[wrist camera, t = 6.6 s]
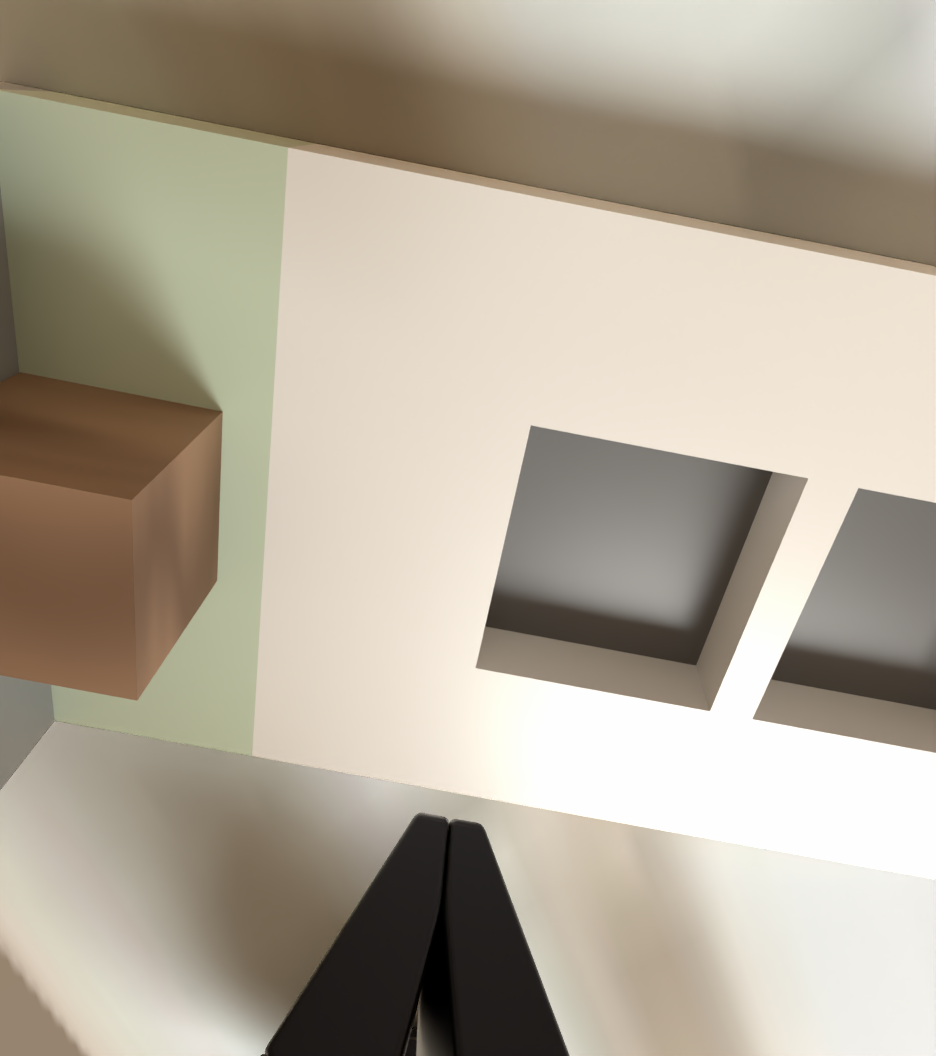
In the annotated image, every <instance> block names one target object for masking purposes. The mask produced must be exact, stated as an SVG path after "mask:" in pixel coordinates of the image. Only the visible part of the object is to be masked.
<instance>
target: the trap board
mask: <svg viewBox="0 0 936 1056" xmlns="http://www.w3.org/2000/svg"><path fill="white" fill-rule="evenodd" d="M20 372H22V373H27V374H32V375H37V376H43V377H48V378H53V379H58V380H63V381H68V382H73V383H78V384H84V385H89V386H94V387H99V388H104V389H109V390H114V391H120V392H125V393H130V394H135V395H140V396H145V397H150V398H155V399H161V400H166V401H171V402H176V403H181V404H186V405H191V406H197V407H202V408H207V409H212V410H217V411H222V412H223V418H222V449H221V480H220V510H219V541H218V572H217V582H216V583H215V585H214V586H213V588H212V589H211V591H210V592H209V594H208V595H207V597H206V598H205V600H204V601H203V603H202V604H201V606H200V607H199V609H198V610H197V612H196V613H195V615H194V616H193V618H192V619H191V621H190V622H189V624H188V625H187V627H186V628H185V630H184V631H183V633H182V634H181V636H180V637H179V639H178V640H177V642H176V643H175V645H174V646H173V648H172V649H171V651H170V652H169V654H168V655H167V657H166V658H165V660H164V661H163V663H162V664H161V666H160V667H159V669H158V670H157V672H156V673H155V675H154V676H153V678H152V679H151V681H150V682H149V684H148V685H147V687H146V688H145V690H144V691H143V693H142V694H141V696H140V697H139V699H138V700H137V701H136V700H131V699H125V698H120V697H115V696H109V695H104V694H98V693H93V692H88V691H82V690H77V689H71V688H66V687H61V686H55V685H50V684H44V683H39V682H34V681H28V680H23V679H17V678H12V677H7V676H1V675H0V790H1V789H2V787H3V786H4V785H5V784H6V782H7V781H8V780H9V778H10V777H11V776H12V775H13V773H14V772H15V771H16V769H17V768H18V767H19V766H20V764H21V763H22V762H23V760H24V759H25V758H26V757H27V755H28V754H29V753H30V752H31V750H32V749H33V748H34V746H35V745H36V744H37V743H38V741H39V740H40V739H41V737H42V736H43V735H44V734H45V732H46V731H47V730H48V728H49V727H50V726H51V725H52V723H53V722H54V721H59V722H65V723H70V724H76V725H81V726H87V727H92V728H98V729H104V730H109V731H115V732H120V733H126V734H131V735H137V736H142V737H148V738H153V739H159V740H164V741H170V742H176V743H181V744H187V745H192V746H198V747H203V748H209V749H214V750H220V751H225V752H231V753H237V754H242V755H248V756H253V757H259V758H264V759H270V760H275V761H281V762H286V763H292V764H297V765H303V766H309V767H314V768H320V769H325V770H331V771H336V772H342V773H347V774H353V775H358V776H364V777H370V778H375V779H381V780H386V781H392V782H397V783H403V784H408V785H414V786H419V787H425V788H430V789H436V790H442V791H447V792H453V793H458V794H464V795H469V796H475V797H480V798H486V799H491V800H497V801H503V802H508V803H514V804H519V805H525V806H530V807H536V808H541V809H547V810H552V811H558V812H563V813H569V814H575V815H580V816H586V817H591V818H597V819H602V820H608V821H613V822H619V823H624V824H630V825H636V826H641V827H647V828H652V829H658V830H663V831H669V832H674V833H680V834H685V835H691V836H696V837H702V838H708V839H713V840H719V841H724V842H730V843H735V844H741V845H746V846H752V847H757V848H763V849H769V850H774V851H780V852H785V853H791V854H796V855H802V856H807V857H813V858H818V859H824V860H829V861H835V862H841V863H846V864H852V865H857V866H863V867H868V868H874V869H879V870H885V871H890V872H896V873H902V874H907V875H913V876H918V877H924V878H929V879H935V880H936V266H932V265H926V264H921V263H916V262H911V261H906V260H901V259H896V258H891V257H886V256H881V255H876V254H871V253H866V252H861V251H856V250H851V249H846V248H841V247H836V246H831V245H826V244H820V243H815V242H810V241H805V240H800V239H795V238H790V237H785V236H780V235H775V234H770V233H765V232H760V231H755V230H750V229H745V228H740V227H735V226H730V225H725V224H720V223H715V222H709V221H704V220H699V219H694V218H689V217H684V216H679V215H674V214H669V213H664V212H659V211H654V210H649V209H644V208H639V207H634V206H629V205H624V204H619V203H614V202H609V201H603V200H598V199H593V198H588V197H583V196H578V195H573V194H568V193H563V192H558V191H553V190H548V189H543V188H538V187H533V186H528V185H523V184H518V183H513V182H508V181H503V180H497V179H492V178H487V177H482V176H477V175H472V174H467V173H462V172H457V171H452V170H447V169H442V168H437V167H432V166H427V165H422V164H417V163H412V162H407V161H402V160H397V159H391V158H386V157H381V156H376V155H371V154H366V153H361V152H356V151H351V150H346V149H341V148H336V147H331V146H326V145H321V144H316V143H311V142H306V141H301V140H296V139H291V138H286V137H280V136H275V135H270V134H265V133H260V132H255V131H250V130H245V129H240V128H235V127H230V126H225V125H220V124H215V123H210V122H205V121H200V120H195V119H190V118H185V117H180V116H174V115H169V114H164V113H159V112H154V111H149V110H144V109H139V108H134V107H129V106H124V105H119V104H114V103H109V102H104V101H99V100H94V99H89V98H84V97H79V96H74V95H68V94H63V93H58V92H53V91H48V90H43V89H38V88H33V87H28V86H23V85H18V84H13V83H8V82H3V81H0V382H2V381H4V380H6V379H8V378H10V377H12V376H14V375H16V374H18V373H20Z"/></svg>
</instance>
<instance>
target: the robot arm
mask: <svg viewBox="0 0 936 1056" xmlns="http://www.w3.org/2000/svg"><path fill="white" fill-rule="evenodd" d="M419 998H420V999H419ZM418 1002H419V1008H418V1024H417V1030H413V1029H412V1026H413V1022H414V1018H415V1014H416V1010H417V1006H418ZM261 1056H569V1053H568V1050H567V1048H566V1045H565V1042H564V1040H563V1037H562V1034H561V1032H560V1029H559V1026H558V1024H557V1021H556V1018H555V1016H554V1013H553V1010H552V1008H551V1005H550V1002H549V1000H548V997H547V994H546V992H545V989H544V986H543V983H542V981H541V978H540V975H539V973H538V970H537V967H536V965H535V962H534V959H533V957H532V954H531V951H530V949H529V946H528V943H527V941H526V938H525V935H524V933H523V930H522V927H521V925H520V922H519V919H518V917H517V914H516V911H515V909H514V906H513V903H512V901H511V898H510V895H509V893H508V890H507V887H506V884H505V882H504V879H503V876H502V874H501V871H500V868H499V866H498V863H497V860H496V858H495V855H494V852H493V850H492V847H491V844H490V842H489V839H488V836H487V834H486V831H485V829H484V827H483V826H482V825H481V824H479V823H475V822H470V821H464V820H459V819H454V820H451V821H450V823H449V822H448V819H446V818H445V817H442V816H436V815H431V814H425V813H419V814H417V815H416V816H415V817H414V818H413V819H412V821H411V823H410V824H409V826H408V827H407V829H406V830H405V832H404V833H403V835H402V837H401V838H400V840H399V841H398V843H397V844H396V846H395V847H394V849H393V851H392V852H391V854H390V855H389V857H388V858H387V860H386V862H385V863H384V865H383V866H382V868H381V869H380V871H379V872H378V874H377V876H376V877H375V879H374V880H373V882H372V883H371V885H370V886H369V888H368V890H367V891H366V893H365V894H364V896H363V897H362V899H361V900H360V902H359V904H358V905H357V907H356V908H355V910H354V911H353V913H352V914H351V916H350V918H349V919H348V921H347V922H346V924H345V925H344V927H343V929H342V930H341V932H340V933H339V935H338V936H337V938H336V939H335V941H334V943H333V944H332V946H331V947H330V949H329V950H328V952H327V953H326V955H325V957H324V958H323V960H322V961H321V963H320V964H319V966H318V967H317V969H316V971H315V972H314V974H313V975H312V977H311V978H310V980H309V982H308V983H307V985H306V986H305V988H304V989H303V991H302V992H301V994H300V996H299V997H298V999H297V1000H296V1002H295V1003H294V1005H293V1006H292V1008H291V1010H290V1011H289V1013H288V1014H287V1016H286V1017H285V1019H284V1020H283V1022H282V1024H281V1025H280V1027H279V1028H278V1030H277V1031H276V1033H275V1035H274V1036H273V1038H272V1039H271V1041H270V1042H269V1044H268V1045H267V1047H266V1050H265V1054H262V1055H261Z"/></svg>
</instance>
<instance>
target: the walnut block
mask: <svg viewBox="0 0 936 1056" xmlns="http://www.w3.org/2000/svg"><path fill="white" fill-rule="evenodd" d="M222 418H223V412H222V411H217V410H212V409H207V408H202V407H197V406H191V405H186V404H181V403H176V402H171V401H166V400H161V399H155V398H150V397H145V396H140V395H135V394H130V393H125V392H120V391H114V390H109V389H104V388H99V387H94V386H89V385H84V384H78V383H73V382H68V381H63V380H58V379H53V378H48V377H43V376H37V375H32V374H27V373H22V372H20V373H18V374H16V375H14V376H12V377H10V378H8V379H6V380H4V381H2V382H0V675H1V676H7V677H12V678H17V679H23V680H28V681H34V682H39V683H44V684H50V685H55V686H61V687H66V688H71V689H77V690H82V691H88V692H93V693H98V694H104V695H109V696H115V697H120V698H125V699H131V700H136V701H137V700H138V699H139V697H140V696H141V694H142V693H143V691H144V690H145V688H146V687H147V685H148V684H149V682H150V681H151V679H152V678H153V676H154V675H155V673H156V672H157V670H158V669H159V667H160V666H161V664H162V663H163V661H164V660H165V658H166V657H167V655H168V654H169V652H170V651H171V649H172V648H173V646H174V645H175V643H176V642H177V640H178V639H179V637H180V636H181V634H182V633H183V631H184V630H185V628H186V627H187V625H188V624H189V622H190V621H191V619H192V618H193V616H194V615H195V613H196V612H197V610H198V609H199V607H200V606H201V604H202V603H203V601H204V600H205V598H206V597H207V595H208V594H209V592H210V591H211V589H212V588H213V586H214V585H215V583H216V582H217V572H218V541H219V510H220V480H221V449H222Z"/></svg>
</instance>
